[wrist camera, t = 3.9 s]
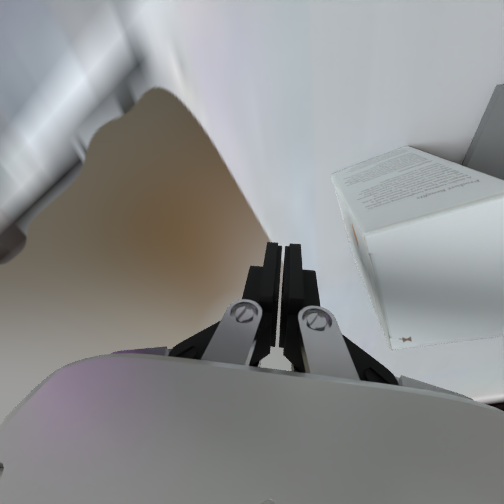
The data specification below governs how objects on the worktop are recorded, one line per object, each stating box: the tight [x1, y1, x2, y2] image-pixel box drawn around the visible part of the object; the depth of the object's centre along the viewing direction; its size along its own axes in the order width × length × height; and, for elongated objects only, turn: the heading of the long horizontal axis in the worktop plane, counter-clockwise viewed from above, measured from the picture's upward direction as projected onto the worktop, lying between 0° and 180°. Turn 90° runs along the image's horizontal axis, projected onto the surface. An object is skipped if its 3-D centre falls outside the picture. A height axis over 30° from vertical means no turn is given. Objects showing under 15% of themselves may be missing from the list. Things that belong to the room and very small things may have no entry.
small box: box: [331, 146, 504, 350], centre depth 15 cm, size 8×6×10 cm
